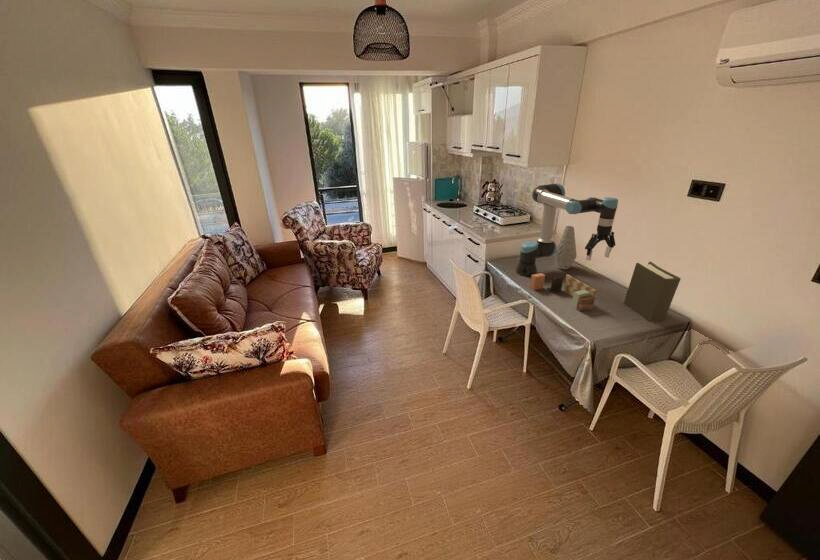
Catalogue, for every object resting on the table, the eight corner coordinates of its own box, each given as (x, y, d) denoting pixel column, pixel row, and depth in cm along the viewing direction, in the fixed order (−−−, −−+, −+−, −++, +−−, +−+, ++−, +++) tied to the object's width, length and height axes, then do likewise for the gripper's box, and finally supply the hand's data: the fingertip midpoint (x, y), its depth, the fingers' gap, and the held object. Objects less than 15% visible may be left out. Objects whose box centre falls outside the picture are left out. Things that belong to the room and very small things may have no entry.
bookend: (546, 288, 226) (548, 275, 221) (556, 286, 228) (558, 273, 223) (551, 292, 221) (553, 278, 217) (561, 290, 223) (563, 276, 219)
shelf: (551, 293, 220) (554, 277, 215) (564, 290, 223) (567, 274, 218) (579, 311, 198) (583, 294, 193) (594, 308, 201) (598, 291, 196)
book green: (571, 305, 205) (574, 291, 201) (582, 303, 207) (585, 289, 203) (576, 308, 202) (579, 294, 197) (586, 306, 204) (590, 292, 199)
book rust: (529, 287, 229) (531, 274, 224) (539, 285, 231) (541, 272, 226) (533, 290, 225) (535, 277, 221) (543, 288, 227) (545, 275, 223)
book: (665, 321, 187) (682, 277, 174) (650, 323, 186) (666, 279, 173) (637, 302, 206) (650, 261, 193) (623, 303, 205) (636, 262, 192)
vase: (548, 263, 265) (554, 223, 250) (569, 262, 264) (576, 223, 250) (555, 271, 250) (562, 230, 235) (577, 271, 249) (586, 229, 235)
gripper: (592, 229, 185) (585, 263, 195) (627, 224, 191) (619, 257, 200) (582, 225, 192) (575, 259, 201) (617, 220, 198) (609, 253, 207)
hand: (597, 258), depth 201 cm, fingers open, 13 cm apart
